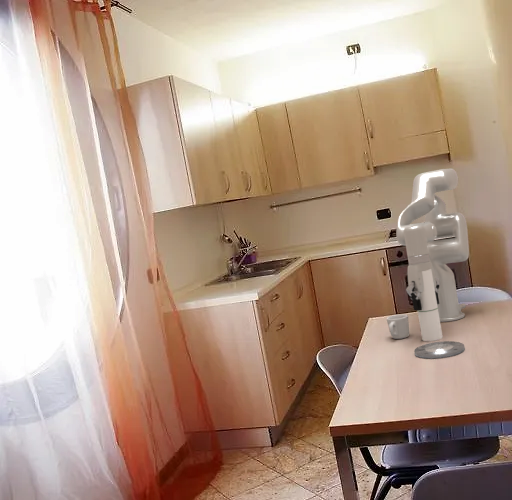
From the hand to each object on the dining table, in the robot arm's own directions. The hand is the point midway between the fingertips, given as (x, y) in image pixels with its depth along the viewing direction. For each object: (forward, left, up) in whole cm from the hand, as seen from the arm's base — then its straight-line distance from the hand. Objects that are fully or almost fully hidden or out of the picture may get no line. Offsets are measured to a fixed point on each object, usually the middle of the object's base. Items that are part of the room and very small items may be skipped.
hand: (426, 307), depth 221 cm
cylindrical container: (0, 0, -12) cm, 12 cm away
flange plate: (+13, +13, -12) cm, 21 cm away
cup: (+3, -13, -12) cm, 18 cm away
